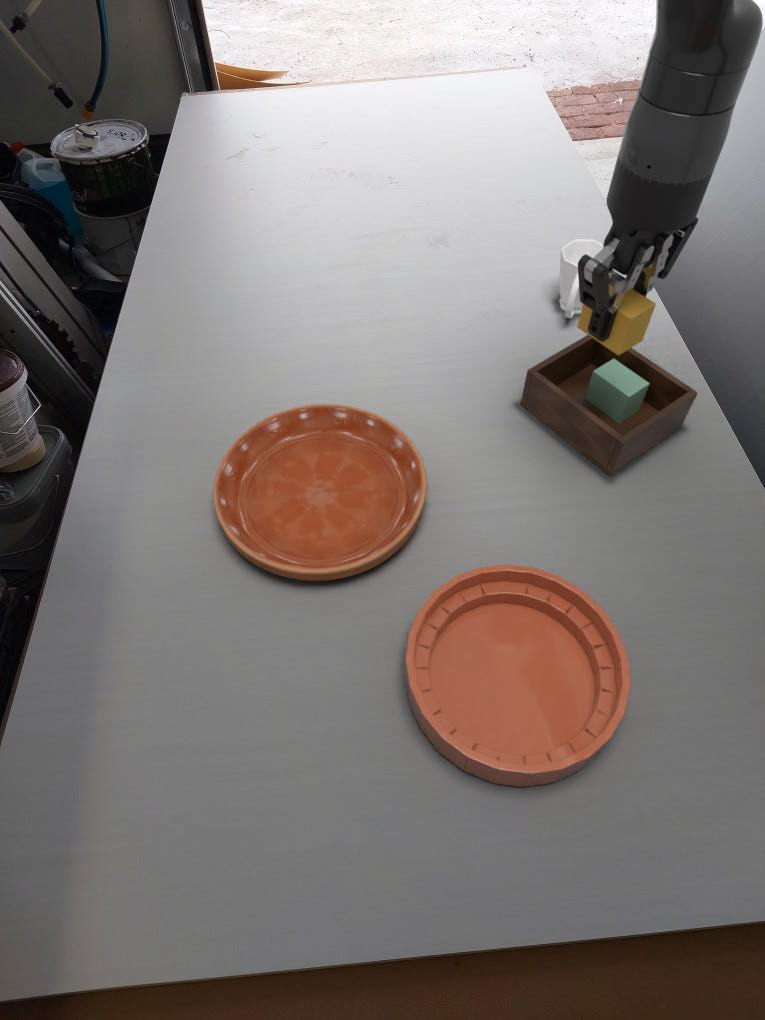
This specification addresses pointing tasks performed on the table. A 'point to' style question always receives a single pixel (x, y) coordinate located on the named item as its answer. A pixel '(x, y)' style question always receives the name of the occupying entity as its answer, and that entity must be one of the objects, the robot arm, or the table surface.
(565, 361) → the holder
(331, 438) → the saucer
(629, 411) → the mint green block
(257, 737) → the table surface
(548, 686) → the bowl
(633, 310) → the yellow block
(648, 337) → the table surface
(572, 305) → the cup
